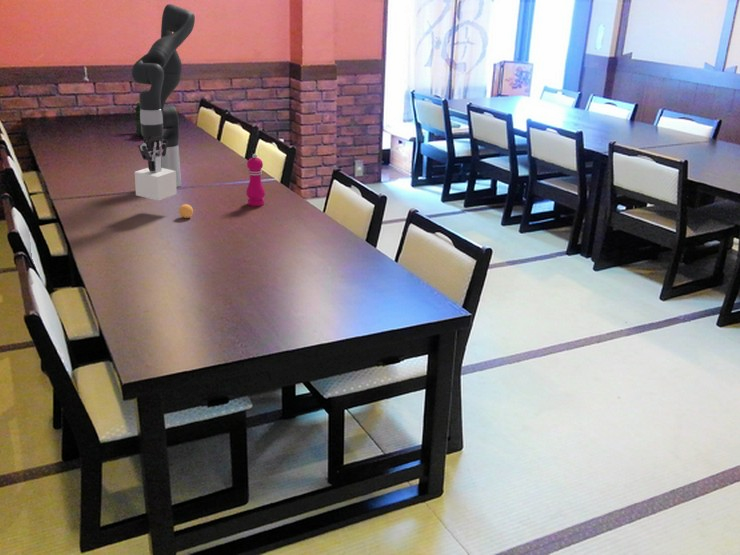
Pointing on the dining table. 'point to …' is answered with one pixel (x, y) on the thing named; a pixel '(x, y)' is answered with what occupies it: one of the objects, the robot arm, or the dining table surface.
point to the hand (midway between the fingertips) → (155, 169)
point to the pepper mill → (255, 182)
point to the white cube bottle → (155, 182)
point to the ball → (186, 211)
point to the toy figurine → (138, 120)
